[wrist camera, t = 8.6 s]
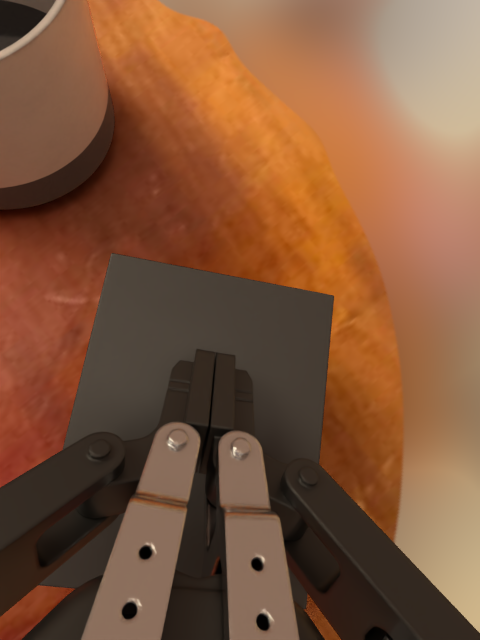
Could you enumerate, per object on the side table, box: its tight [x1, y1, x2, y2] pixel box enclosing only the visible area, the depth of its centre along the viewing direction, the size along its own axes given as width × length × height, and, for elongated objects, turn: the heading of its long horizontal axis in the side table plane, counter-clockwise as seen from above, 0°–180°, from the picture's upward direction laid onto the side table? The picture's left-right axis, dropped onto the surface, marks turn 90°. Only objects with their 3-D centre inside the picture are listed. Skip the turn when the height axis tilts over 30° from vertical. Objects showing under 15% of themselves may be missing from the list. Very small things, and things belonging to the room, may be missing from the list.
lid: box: [39, 253, 334, 609], centre depth 15 cm, size 12×10×1 cm
